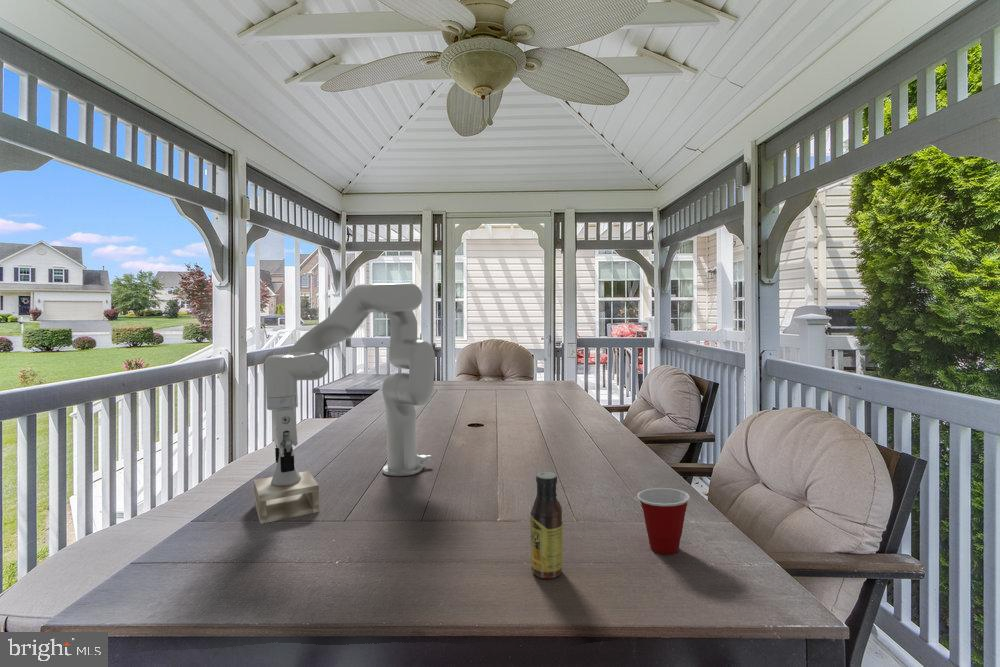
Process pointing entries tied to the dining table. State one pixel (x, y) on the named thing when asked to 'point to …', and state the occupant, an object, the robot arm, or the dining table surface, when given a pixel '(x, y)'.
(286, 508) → the grooved beige box
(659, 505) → the plastic cup
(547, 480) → the sauce bottle
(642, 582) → the dining table surface
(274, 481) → the flask
